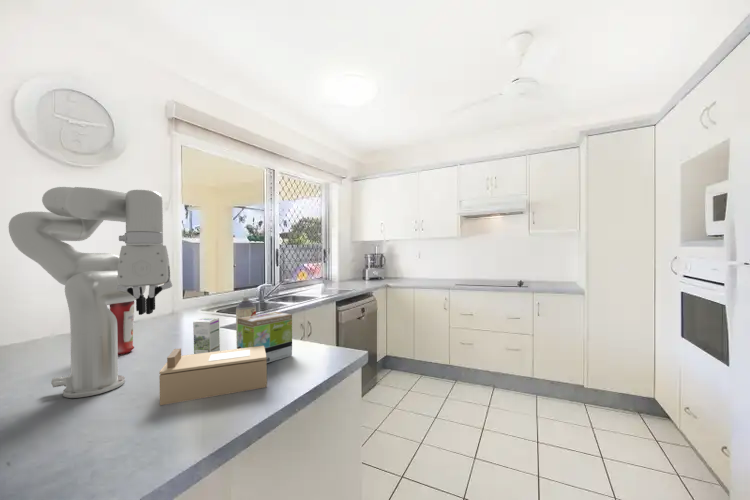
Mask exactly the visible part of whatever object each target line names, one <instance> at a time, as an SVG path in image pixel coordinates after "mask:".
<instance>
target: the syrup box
mask: <svg viewBox="0 0 750 500" xmlns="http://www.w3.org/2000/svg"><path fill="white" fill-rule="evenodd" d="M192 325H193V326H192V327H193V354H199V353H207V352H216V351H221V350H220V347H221V346H220V345H221V344H220V341H221V340H220V338H221V337H220V318H218V317H215V318H212V317H211V318H210V317H209V318H207V317H203V318H198V319H197V320H194V321H193V323H192Z"/></svg>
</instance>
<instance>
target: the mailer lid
mask: <svg viewBox="0 0 750 500" xmlns="http://www.w3.org/2000/svg"><path fill="white" fill-rule="evenodd" d="M166 360H167V361H166V362H165V364H164V365H163V367H162V368H161V369H160V370H159V375H160V374H165V373H173V372H180V371H187V370H194V369H201V368H209V367H216V366H223V365H230V364H237V363H244V362H252V361H259V360H266V352H265V347H264V346H256V347H248V348H240V349H237V348H233V349H225V350H220V351H216V352H207V353H199V354H194V353H192V354H184V355H182V348H181V347H180V348H174V349H173V350H172V351H171V353H170V354H169V355H168V356H167V358H166Z"/></svg>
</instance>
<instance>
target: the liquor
mask: <svg viewBox="0 0 750 500" xmlns="http://www.w3.org/2000/svg"><path fill="white" fill-rule="evenodd" d="M109 310H110V311H111V312H112V313H113V314H114V315H115V317H116V319H117V339H118V356H119V355H120V354H121V355H125V354H129V353H131V352H132V351H133V350H134V349H135V346H134V323H135V322H134V320H135V300H134V301H130V302H124V303H117V304H111V305H109Z"/></svg>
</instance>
